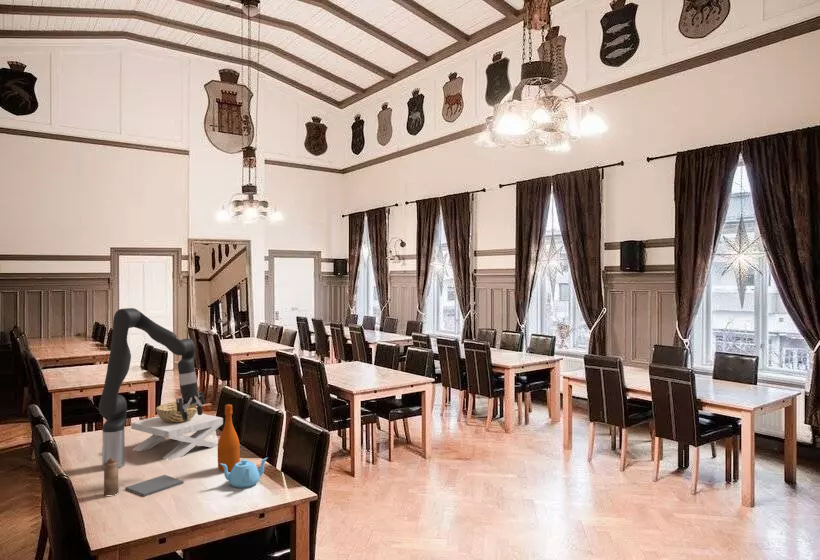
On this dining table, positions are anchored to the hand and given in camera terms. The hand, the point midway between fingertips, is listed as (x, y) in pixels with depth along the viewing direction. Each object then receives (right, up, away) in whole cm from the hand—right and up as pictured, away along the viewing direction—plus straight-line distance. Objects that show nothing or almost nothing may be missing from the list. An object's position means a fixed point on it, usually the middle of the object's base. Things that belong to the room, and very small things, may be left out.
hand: (192, 417), depth 264 cm
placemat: (-9, -25, -18) cm, 32 cm away
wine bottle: (+15, -25, +4) cm, 29 cm away
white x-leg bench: (-22, -25, +38) cm, 50 cm away
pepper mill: (-23, -25, -27) cm, 44 cm away
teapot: (+28, -25, -16) cm, 41 cm away
